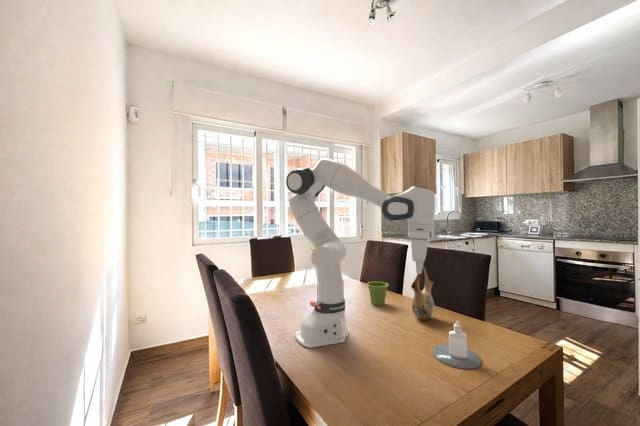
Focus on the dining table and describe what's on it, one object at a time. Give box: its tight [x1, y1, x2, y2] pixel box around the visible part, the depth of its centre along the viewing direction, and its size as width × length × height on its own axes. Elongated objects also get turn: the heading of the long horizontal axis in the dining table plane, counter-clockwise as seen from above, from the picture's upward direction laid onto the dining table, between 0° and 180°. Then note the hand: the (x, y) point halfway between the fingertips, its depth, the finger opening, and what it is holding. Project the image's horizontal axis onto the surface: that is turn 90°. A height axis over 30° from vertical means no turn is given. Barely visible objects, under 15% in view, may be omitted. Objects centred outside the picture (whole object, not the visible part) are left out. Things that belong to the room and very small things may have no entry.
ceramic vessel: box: [410, 266, 435, 321], centre depth 125 cm, size 16×9×25 cm, turn 127°
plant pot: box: [366, 281, 389, 307], centre depth 147 cm, size 12×12×11 cm
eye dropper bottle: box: [448, 320, 468, 359], centre depth 91 cm, size 4×6×12 cm
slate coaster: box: [432, 344, 482, 370], centre depth 91 cm, size 15×15×1 cm
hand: (419, 270), depth 93 cm, fingers open, 8 cm apart
